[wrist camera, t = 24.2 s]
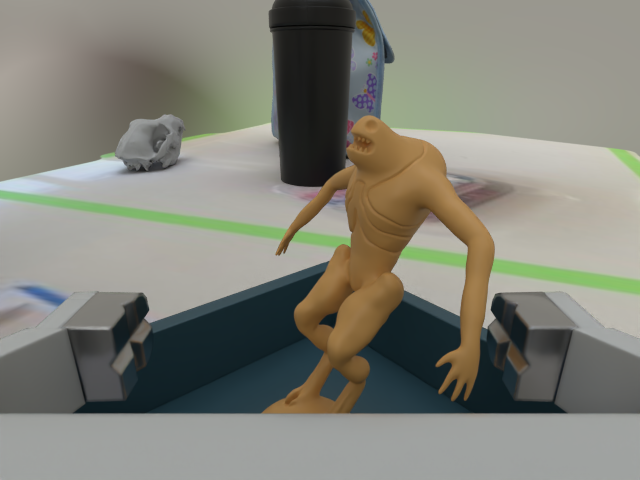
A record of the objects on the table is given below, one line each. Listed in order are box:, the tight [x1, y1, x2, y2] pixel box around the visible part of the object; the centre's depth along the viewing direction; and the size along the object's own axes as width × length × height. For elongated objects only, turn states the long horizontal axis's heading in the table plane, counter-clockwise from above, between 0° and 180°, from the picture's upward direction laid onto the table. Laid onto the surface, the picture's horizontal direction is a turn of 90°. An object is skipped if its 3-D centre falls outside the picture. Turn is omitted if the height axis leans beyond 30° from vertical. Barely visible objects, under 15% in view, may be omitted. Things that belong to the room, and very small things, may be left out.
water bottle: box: [269, 0, 356, 186], centre depth 53 cm, size 10×10×23 cm
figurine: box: [262, 115, 495, 413], centre depth 12 cm, size 8×6×12 cm
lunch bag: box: [271, 0, 394, 156], centre depth 74 cm, size 22×17×26 cm
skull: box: [115, 114, 185, 171], centre depth 64 cm, size 8×9×12 cm
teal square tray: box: [73, 261, 567, 413], centre depth 14 cm, size 16×16×4 cm
